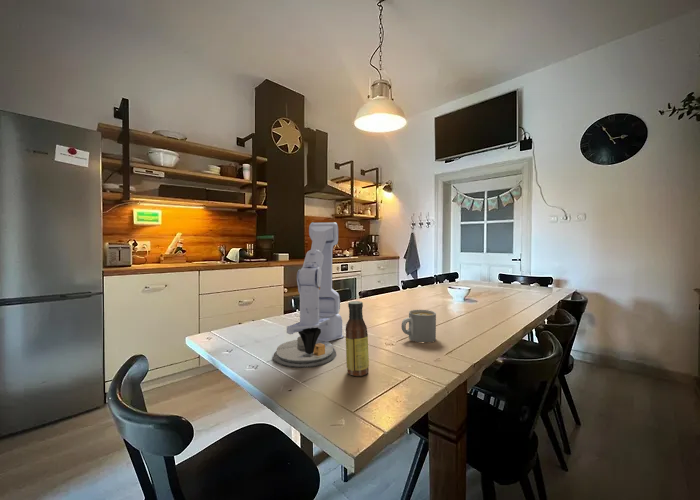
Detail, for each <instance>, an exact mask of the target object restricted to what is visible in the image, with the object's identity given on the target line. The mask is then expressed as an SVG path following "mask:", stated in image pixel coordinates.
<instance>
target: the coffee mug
mask: <svg viewBox="0 0 700 500" xmlns="http://www.w3.org/2000/svg"><path fill="white" fill-rule="evenodd" d="M407 324H408V329H406V328H407V327H406V326H407ZM401 331H402V332H403V333H404V334H405V335H408V339H409V340H410V341H411V342H414V341H416V342H415V343H419V342H431V343H434V342H436V340H437V332H436V331H437V312H435V311H432V310H429V309H413V310H409V311H408V317H406V318H404V319H403V320H402V322H401ZM433 341H434V342H433Z"/></svg>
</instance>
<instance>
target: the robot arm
mask: <svg viewBox="0 0 700 500" xmlns="http://www.w3.org/2000/svg"><path fill="white" fill-rule="evenodd" d="M338 225H339V224H338V223H337V222H334V221H333V222H311V223H310V224H309V226H308V235H309V238H310V240H311V248H310V250H308V251H307V252H306V254H305V257H304V261H303V265H302V267H301V268H299V269H298V270H297V273H296V285H297V291H298V293H299V322H296V323H294V324H290V325H287V326H286V334H288V335H294V334H295V333H298V334H299V337H300V336H301V338H302V341H303V343H304V347H305V351H306V353H307V354H313V352H314V348H315V344H316V341H317V339H318V340H323V341H327V342H331V341H335V340H338V339H343V338H344V337H345V336H344V334H343V318H342V316H341V315H340V309H341V300H340V299H341V298H340V294H339V292H337V291H336V290H335V289H333V250H334V247H335V246H336V245H338V244H339V243H338V242H339V226H338Z"/></svg>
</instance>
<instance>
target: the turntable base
mask: <svg viewBox="0 0 700 500" xmlns="http://www.w3.org/2000/svg"><path fill="white" fill-rule="evenodd" d="M336 356H337V351H336V349H335V348H334V347H333V354H332V355H331V356H330V357H328V358H326V359H324V360H321V361H317V362H312V363H291V362H286V361H283V360H281V359H279V358H278V357H277V350H276V351H275V352H274V353H273V361H274V362H275V363H277V364H278V365H281V366H283V367H284V366H285V367H289V368H296V369H297V368H305V369H306V368H314V367H319V366H322V365H326V364H328V363H331V362H332V361H334V360H335V358H336Z"/></svg>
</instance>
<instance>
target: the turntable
mask: <svg viewBox="0 0 700 500" xmlns="http://www.w3.org/2000/svg"><path fill="white" fill-rule="evenodd" d="M333 348H334V346H333V344H332V343H331V342H330V341H328V342H327V341H323V340H318V339H317V341H316V344H315V348H314V352H313V354H307V353H306V351H301V350H298V349H297V339H294V340H290V341H286V342H284V343H281V344H280V345H278V346H277V348H276V351H277V357H278V358H279V359H281V360H283V361H286V362H291V363H312V362H317V361H321V360H324V359H326V358H328V357H330V356H331V355H332V354H333Z"/></svg>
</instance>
